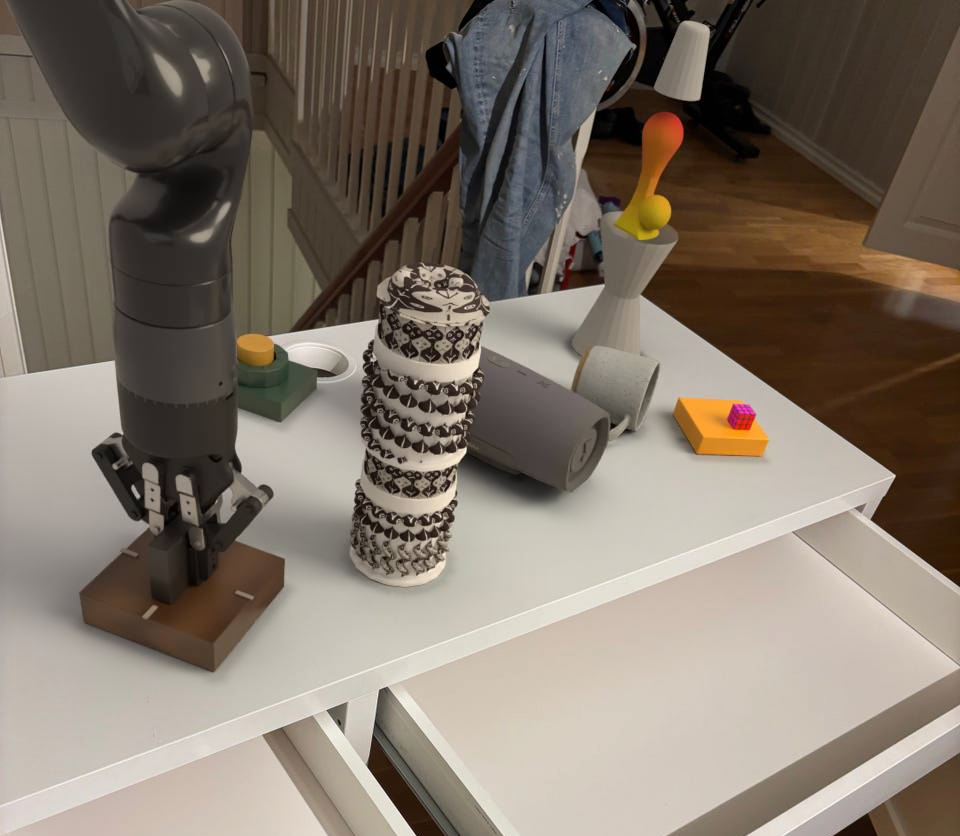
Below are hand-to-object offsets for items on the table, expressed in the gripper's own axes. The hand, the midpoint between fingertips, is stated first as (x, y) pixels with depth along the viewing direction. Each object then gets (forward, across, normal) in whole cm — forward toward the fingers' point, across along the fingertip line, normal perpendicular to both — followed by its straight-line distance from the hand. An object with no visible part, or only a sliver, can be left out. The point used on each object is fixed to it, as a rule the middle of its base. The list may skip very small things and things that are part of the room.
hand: (187, 572), depth 74 cm
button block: (+3, -11, +31) cm, 33 cm away
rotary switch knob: (0, 0, 0) cm, 0 cm away
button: (-1, -11, +31) cm, 33 cm away
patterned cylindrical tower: (+3, +12, +14) cm, 19 cm away
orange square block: (+3, +35, +52) cm, 63 cm away
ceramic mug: (+3, +23, +47) cm, 52 cm away
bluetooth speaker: (+3, +13, +34) cm, 36 cm away
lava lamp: (+3, +19, +64) cm, 67 cm away
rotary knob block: (+3, 0, 0) cm, 3 cm away
